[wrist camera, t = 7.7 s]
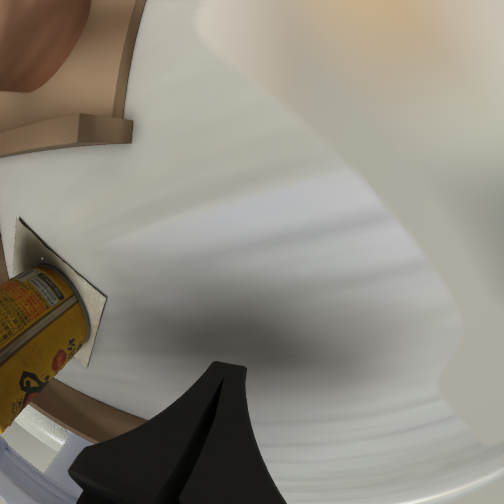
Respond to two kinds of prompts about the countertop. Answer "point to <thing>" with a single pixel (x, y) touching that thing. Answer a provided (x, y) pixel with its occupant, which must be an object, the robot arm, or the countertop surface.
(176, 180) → the countertop surface
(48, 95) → the caddy
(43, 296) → the condiment
